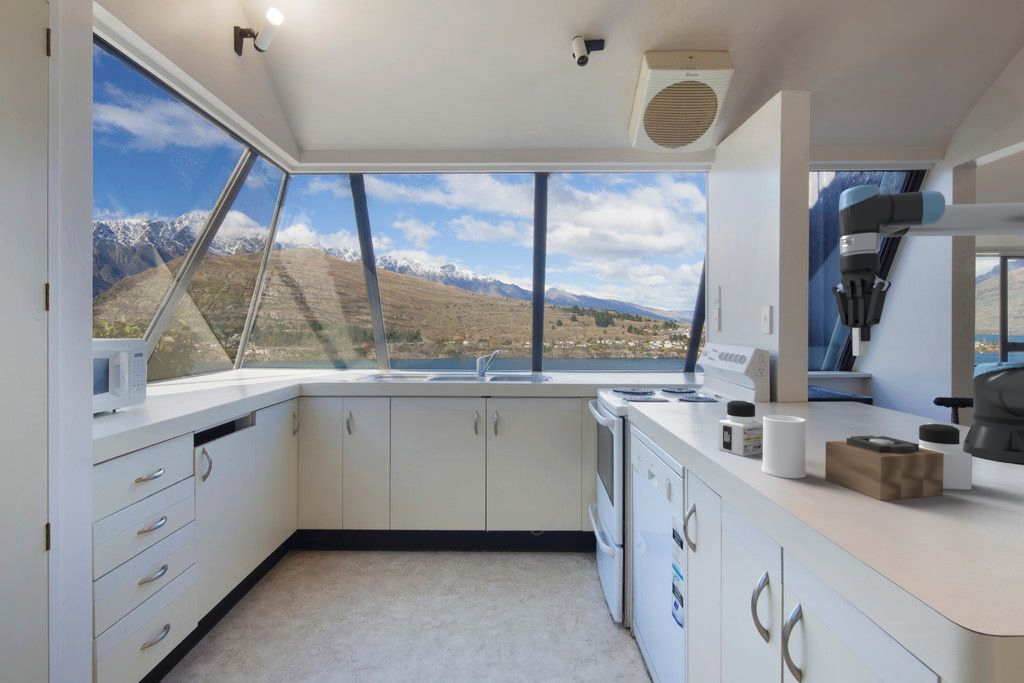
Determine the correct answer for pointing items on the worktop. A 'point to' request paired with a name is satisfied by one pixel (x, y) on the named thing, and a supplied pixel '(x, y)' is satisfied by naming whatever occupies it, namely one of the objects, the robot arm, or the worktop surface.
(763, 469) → the mug
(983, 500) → the worktop surface
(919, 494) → the socket block
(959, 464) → the medicine bottle
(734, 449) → the container
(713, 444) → the worktop surface
